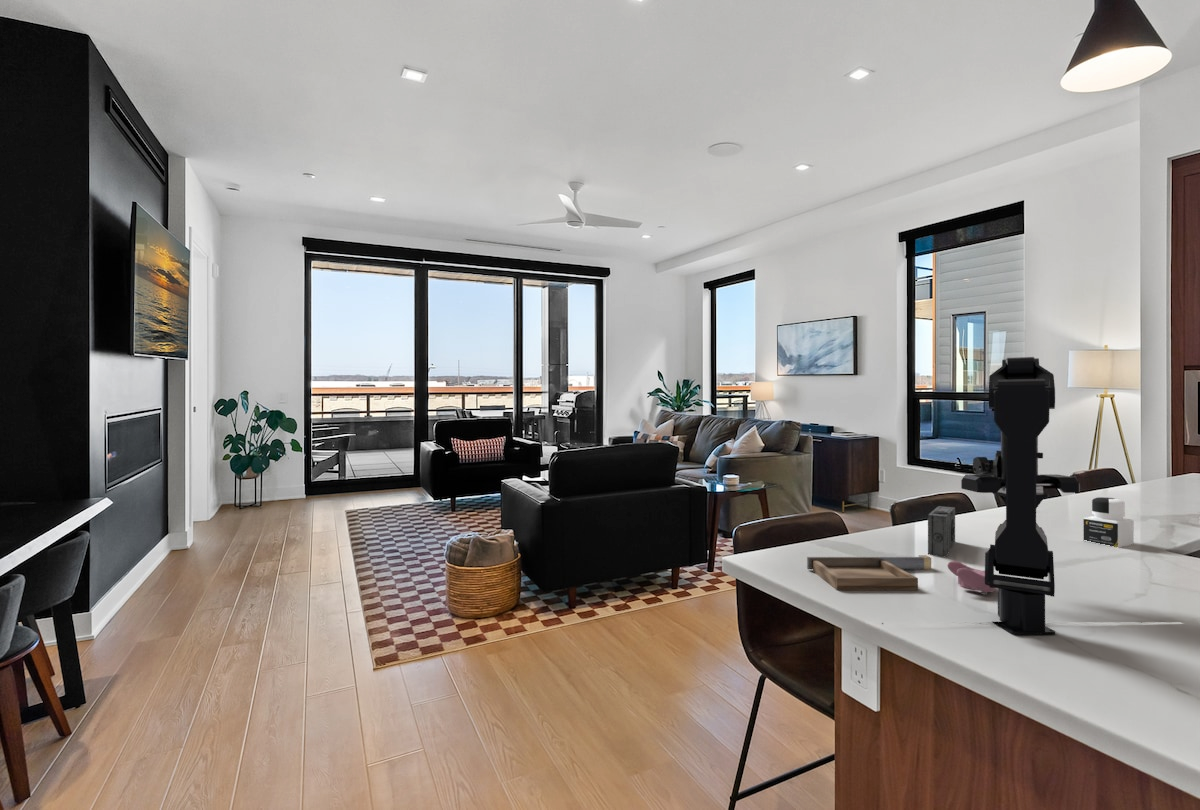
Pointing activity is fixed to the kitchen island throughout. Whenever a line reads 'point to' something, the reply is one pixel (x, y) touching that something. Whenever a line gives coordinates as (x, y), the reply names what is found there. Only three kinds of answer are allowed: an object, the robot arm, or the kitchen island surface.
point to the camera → (941, 530)
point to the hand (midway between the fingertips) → (1019, 529)
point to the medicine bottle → (1109, 523)
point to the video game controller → (970, 577)
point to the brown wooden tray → (867, 577)
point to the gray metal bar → (873, 562)
